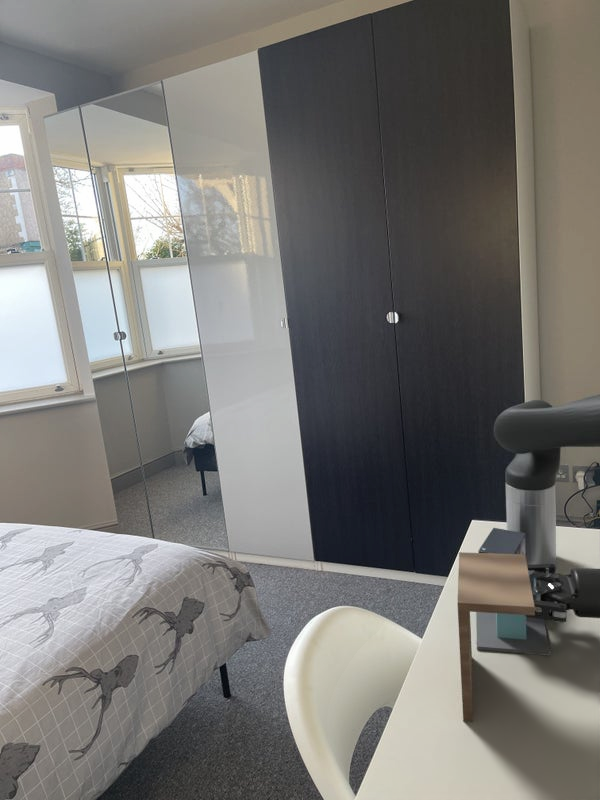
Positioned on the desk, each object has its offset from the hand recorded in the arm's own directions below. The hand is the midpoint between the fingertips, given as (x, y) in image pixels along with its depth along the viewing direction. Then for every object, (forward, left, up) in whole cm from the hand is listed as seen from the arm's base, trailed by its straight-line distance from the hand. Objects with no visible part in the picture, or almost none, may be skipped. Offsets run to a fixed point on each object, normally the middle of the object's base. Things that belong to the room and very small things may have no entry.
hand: (493, 588), depth 100 cm
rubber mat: (0, +2, -8) cm, 9 cm away
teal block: (0, +2, -8) cm, 8 cm away
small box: (-13, +2, -9) cm, 16 cm away
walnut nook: (+14, 0, -8) cm, 16 cm away
